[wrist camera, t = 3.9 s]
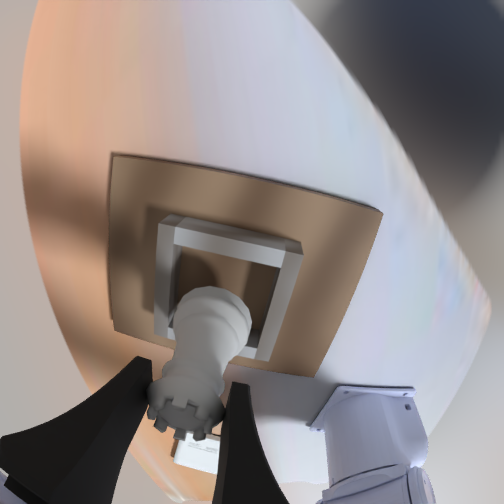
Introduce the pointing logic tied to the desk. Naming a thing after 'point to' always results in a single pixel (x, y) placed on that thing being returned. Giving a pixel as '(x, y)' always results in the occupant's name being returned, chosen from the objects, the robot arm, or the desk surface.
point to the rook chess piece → (199, 362)
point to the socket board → (235, 256)
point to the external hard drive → (199, 453)
